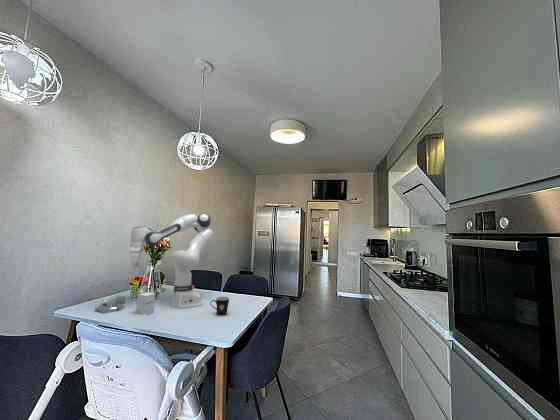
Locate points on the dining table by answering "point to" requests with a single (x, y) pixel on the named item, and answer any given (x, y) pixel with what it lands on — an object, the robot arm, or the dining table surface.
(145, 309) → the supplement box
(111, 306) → the sprocket
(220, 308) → the coffee mug
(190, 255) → the robot arm
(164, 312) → the dining table surface
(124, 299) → the link block
